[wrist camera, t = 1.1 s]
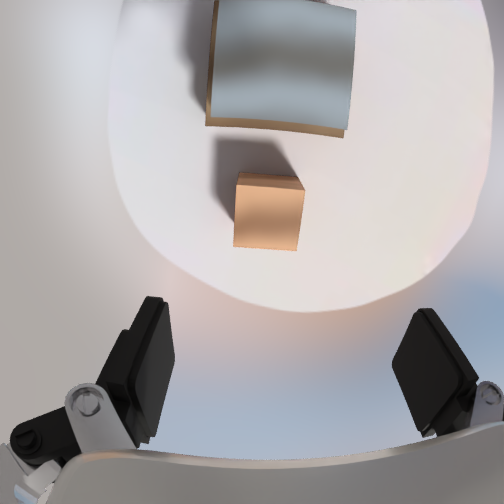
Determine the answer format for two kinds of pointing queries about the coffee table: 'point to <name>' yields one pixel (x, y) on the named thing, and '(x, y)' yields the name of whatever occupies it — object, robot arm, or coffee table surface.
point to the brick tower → (281, 66)
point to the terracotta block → (268, 211)
